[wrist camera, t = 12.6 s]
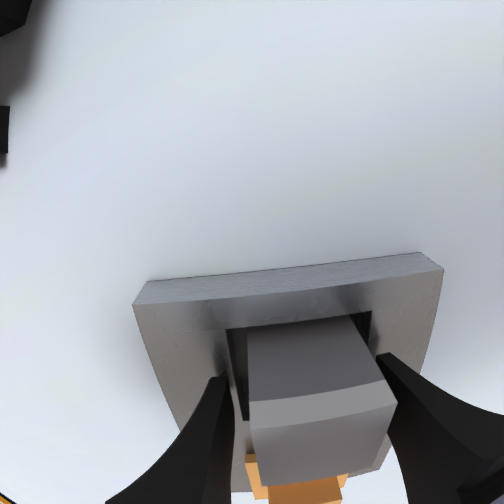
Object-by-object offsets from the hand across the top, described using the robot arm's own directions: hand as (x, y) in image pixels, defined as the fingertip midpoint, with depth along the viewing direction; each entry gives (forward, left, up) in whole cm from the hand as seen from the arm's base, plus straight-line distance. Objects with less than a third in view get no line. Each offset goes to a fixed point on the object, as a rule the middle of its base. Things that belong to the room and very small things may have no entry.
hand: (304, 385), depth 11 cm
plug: (0, 0, -2) cm, 2 cm away
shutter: (0, +9, 0) cm, 9 cm away
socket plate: (0, +4, -3) cm, 5 cm away
